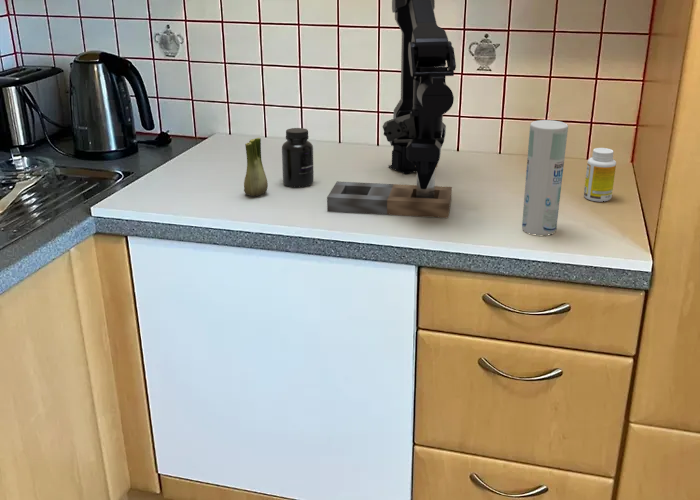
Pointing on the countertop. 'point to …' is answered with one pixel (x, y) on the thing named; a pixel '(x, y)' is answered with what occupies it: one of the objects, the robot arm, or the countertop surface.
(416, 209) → the pin dock plate
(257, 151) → the fennel bulb
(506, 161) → the countertop surface
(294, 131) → the supplement bottle
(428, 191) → the lock pin
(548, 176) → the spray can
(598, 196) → the supplement bottle
